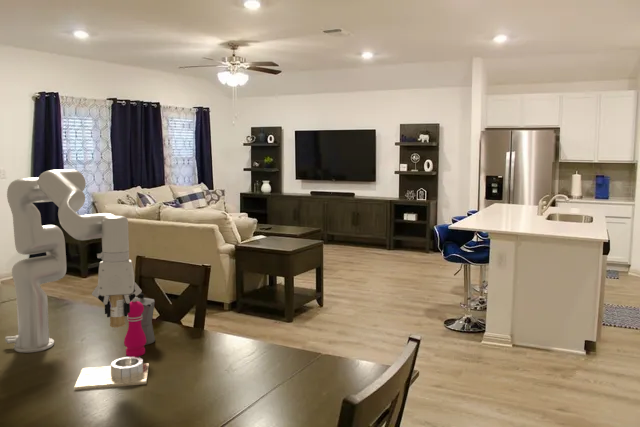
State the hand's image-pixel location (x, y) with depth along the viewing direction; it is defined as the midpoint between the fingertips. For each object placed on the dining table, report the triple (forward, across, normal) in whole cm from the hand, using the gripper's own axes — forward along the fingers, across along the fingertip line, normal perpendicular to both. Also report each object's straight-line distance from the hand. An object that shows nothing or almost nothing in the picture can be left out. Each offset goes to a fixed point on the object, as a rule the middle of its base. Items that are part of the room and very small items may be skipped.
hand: (117, 315), depth 166 cm
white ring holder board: (+20, -2, 0) cm, 20 cm away
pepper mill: (+20, +3, +19) cm, 28 cm away
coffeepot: (+20, +4, +32) cm, 38 cm away
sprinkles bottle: (+4, 0, 0) cm, 4 cm away
